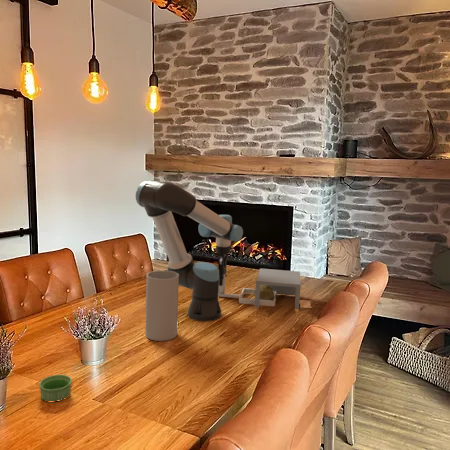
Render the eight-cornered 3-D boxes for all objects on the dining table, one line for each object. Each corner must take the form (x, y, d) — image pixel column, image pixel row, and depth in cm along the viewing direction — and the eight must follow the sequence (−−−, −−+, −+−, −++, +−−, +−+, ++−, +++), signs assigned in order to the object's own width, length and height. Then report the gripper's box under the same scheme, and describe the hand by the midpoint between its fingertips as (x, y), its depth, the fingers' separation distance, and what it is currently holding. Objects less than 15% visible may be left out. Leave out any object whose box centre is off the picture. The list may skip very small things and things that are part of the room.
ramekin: (75, 388, 138) (75, 374, 137) (66, 404, 129) (66, 390, 128) (45, 387, 137) (45, 374, 137) (34, 403, 129) (34, 389, 128)
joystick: (276, 295, 237) (277, 267, 234) (274, 306, 219) (276, 275, 217) (219, 290, 241) (221, 262, 238) (214, 300, 224) (215, 270, 221)
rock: (262, 311, 224) (272, 296, 220) (247, 295, 229) (257, 281, 225) (272, 307, 232) (282, 293, 228) (257, 293, 237) (266, 278, 233)
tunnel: (310, 297, 238) (312, 272, 235) (312, 313, 213) (314, 285, 211) (258, 292, 241) (260, 268, 239) (254, 307, 217) (256, 280, 215)
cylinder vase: (147, 342, 172) (148, 279, 168) (143, 330, 184) (145, 271, 180) (179, 340, 176) (181, 278, 172) (174, 328, 188) (176, 270, 184)
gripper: (228, 249, 219) (226, 295, 223) (233, 242, 235) (231, 286, 239) (213, 247, 220) (211, 294, 224) (218, 241, 236) (217, 285, 240)
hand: (221, 290), depth 231 cm, fingers closed on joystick, 3 cm apart
